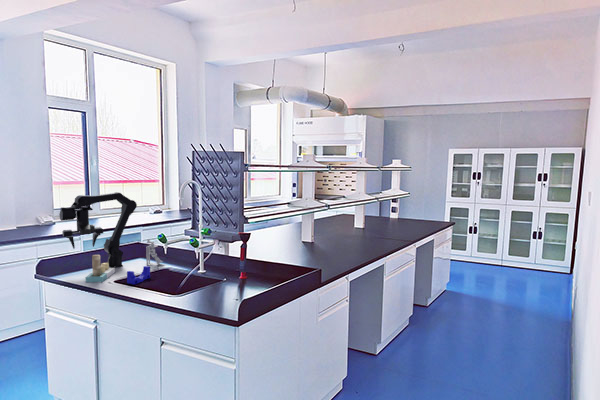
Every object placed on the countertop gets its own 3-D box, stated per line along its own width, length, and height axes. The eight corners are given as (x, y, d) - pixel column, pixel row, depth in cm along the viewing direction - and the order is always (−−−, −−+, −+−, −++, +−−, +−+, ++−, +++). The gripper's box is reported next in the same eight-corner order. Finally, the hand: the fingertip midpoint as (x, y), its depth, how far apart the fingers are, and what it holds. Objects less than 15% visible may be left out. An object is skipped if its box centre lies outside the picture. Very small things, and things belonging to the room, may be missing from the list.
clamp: (161, 266, 227) (161, 240, 226) (145, 265, 227) (144, 240, 226) (164, 264, 231) (164, 238, 230) (148, 263, 232) (147, 238, 230)
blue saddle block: (134, 284, 193) (133, 272, 193) (127, 283, 195) (126, 271, 194) (152, 278, 204) (152, 266, 204) (145, 277, 206) (145, 265, 205)
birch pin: (101, 278, 202) (100, 254, 201) (100, 280, 198) (99, 256, 197) (93, 279, 200) (92, 255, 199) (92, 281, 197) (91, 256, 196)
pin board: (99, 272, 212) (98, 262, 212) (114, 272, 213) (114, 262, 213) (85, 282, 195) (85, 271, 195) (102, 281, 196) (102, 271, 196)
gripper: (64, 222, 199) (66, 252, 201) (105, 219, 211) (106, 248, 212) (61, 219, 208) (62, 248, 210) (100, 217, 220) (101, 244, 221)
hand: (83, 247), depth 213 cm, fingers open, 9 cm apart
